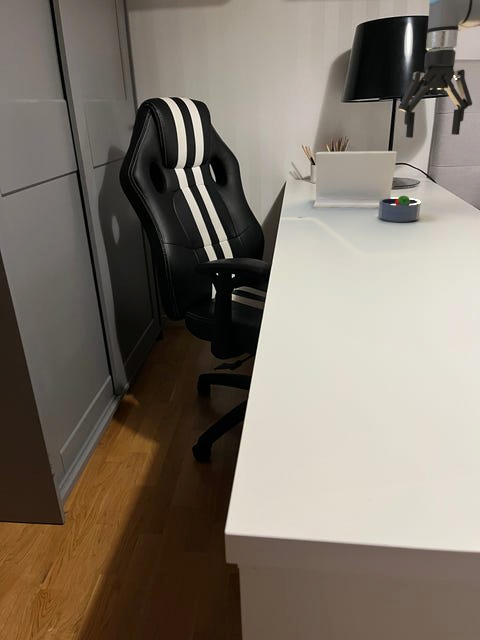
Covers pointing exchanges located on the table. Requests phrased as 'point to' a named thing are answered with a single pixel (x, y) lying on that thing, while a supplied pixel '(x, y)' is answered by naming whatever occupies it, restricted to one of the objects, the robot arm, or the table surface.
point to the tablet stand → (354, 178)
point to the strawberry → (402, 200)
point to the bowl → (398, 210)
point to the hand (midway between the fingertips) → (432, 136)
